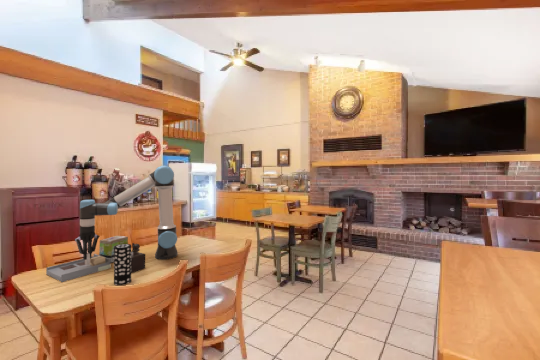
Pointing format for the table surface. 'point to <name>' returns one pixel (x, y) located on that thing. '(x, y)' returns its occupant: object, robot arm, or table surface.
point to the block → (97, 260)
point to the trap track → (76, 269)
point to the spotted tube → (122, 264)
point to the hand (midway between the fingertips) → (87, 264)
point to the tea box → (111, 246)
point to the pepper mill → (137, 259)
